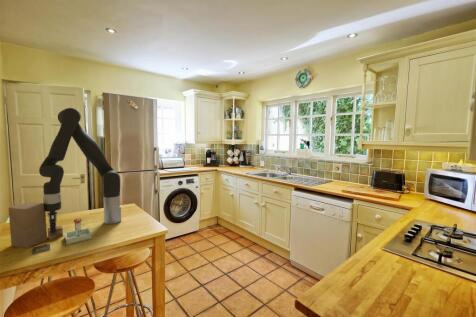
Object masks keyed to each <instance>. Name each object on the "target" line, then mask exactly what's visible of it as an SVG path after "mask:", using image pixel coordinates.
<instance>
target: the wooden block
mask: <svg viewBox="0 0 476 317" xmlns="http://www.w3.org/2000/svg"><path fill="white" fill-rule="evenodd" d="M8 220H9V229H10V230H9V231H10V242H11V246H13V247H17V248H23V249H28V248H31V247H34V246H35V245H38V244H40V243H42V242H45V241H46V240H48V228H47V216H46V211H44V204H43V202H35V201H28V202H24V203H21V204H17V205H12V206H10V207H8Z"/></svg>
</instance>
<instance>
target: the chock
mask: <svg viewBox="0 0 476 317" xmlns="http://www.w3.org/2000/svg"><path fill="white" fill-rule="evenodd" d="M63 231H64V230H63V226H62V225H56V232H55V233H50V227H47V239H48V240H49V241H50V240H53V239H57V238H62V237H63V236H64V232H63Z"/></svg>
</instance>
